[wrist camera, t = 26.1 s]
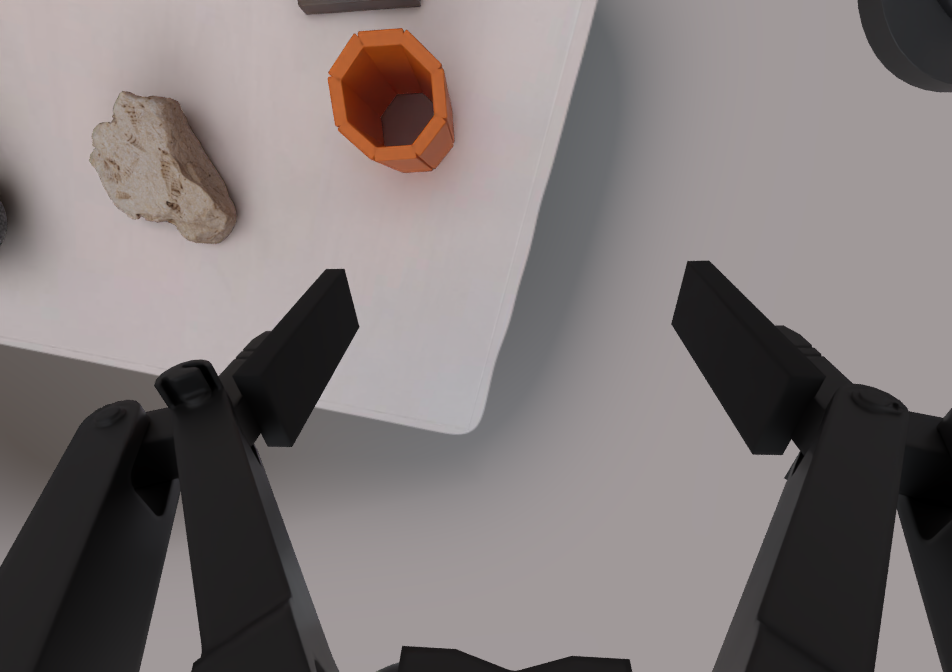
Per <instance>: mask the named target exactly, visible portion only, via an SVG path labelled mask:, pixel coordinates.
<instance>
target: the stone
mask: <svg viewBox="0 0 952 672" xmlns="http://www.w3.org/2000/svg"><path fill="white" fill-rule="evenodd" d="M113 113H114V115H113V116H112V117H113V118H114V119H113V120H112V123H110V122H107V123H104V122H103V123H100V124H98V125H97V126H96V127H95V128H94V130H93V133H92V139H93V144H92V145H93V146H94V147H95V149H94V151H93V152H92V153H91V154H90V159H89V161H90V163H91V164H92V166H93V167H94V168H95V169H96V171H97V172H98V174H99V177H100V179H101V182H102V184H103V187H104V188H105V190H106V192H107V193H108V195H109V197H110V199H111V200H112V202H113V203H114V205H115V206H117V208H118V209H119V210H121V211H122V212H124V213H126V214H127V216H129V217H130V218H131V219H135V220H136V219H139V218H140V217H144V218H145V219H146V220H148V221H155V222H162V221H168V222H169V223H172V224H174V225H175V226H177V229H178V230H179V232H180V233H181V235H182V236H184V237H185V238H186V239H187V240H189V241H192V242H195V243H210V244H217V243H220V242H222V241H223V240H224V239H225V238H226V237H227V236H228V235H229V234H230V232H231V231H232V229H233V227H234V225H235V223H236V218H237V215H236V210H235V207H234V204H233V202H232V201H231V199H230V198H229V195H228V191H227V188H226V185H225V183H224V182H223V180H222V178H221V176H220V175H219V174H218V172H217V170H216V169H215V167H214V166H213V164H212V163H211V161H210V159H209V158H208V157H207V155H206V153H205V152H204V151H203V149H202V147H201V144H200V142H199V140H198V139H197V138H196V136H195V135H194V134H193V132H192V130H191V128H190V126H189V125H188V123H187V119H186V117H185V115H184V113H183V111H182V110H181V107H180V104H179V102H178V101H176V100H174V99H171V98H165V97H158V96H149V97H141V96H137V95H135V94H133V93H131V92H125V91H122V92H121V93H120V94H119V96H118V98H117V100H116V102H115V104H114V107H113Z"/></svg>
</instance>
